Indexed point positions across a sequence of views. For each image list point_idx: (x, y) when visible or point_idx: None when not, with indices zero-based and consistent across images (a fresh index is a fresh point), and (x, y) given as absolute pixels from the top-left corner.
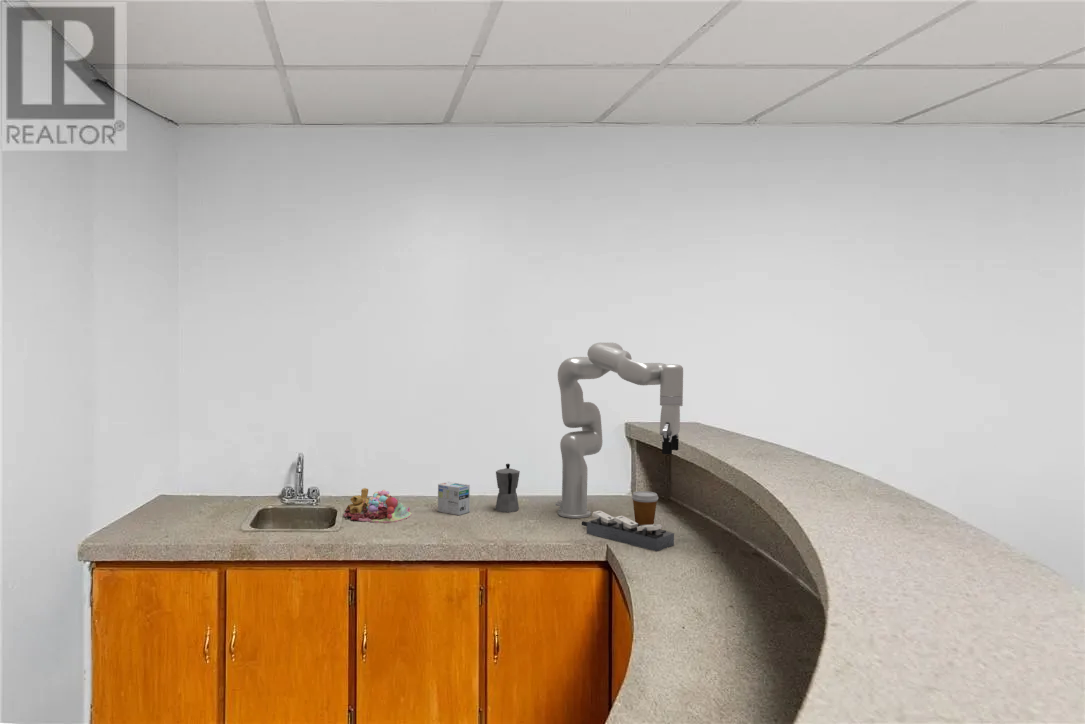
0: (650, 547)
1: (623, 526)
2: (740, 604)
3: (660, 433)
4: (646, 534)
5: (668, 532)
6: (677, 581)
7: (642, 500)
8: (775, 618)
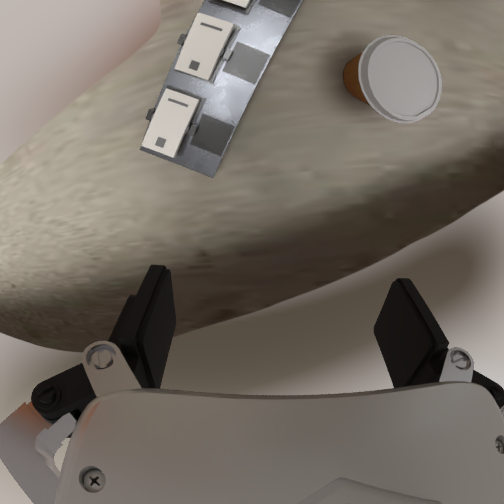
0: None
1: None
2: (22, 294)
3: (88, 405)
4: None
5: (214, 163)
6: (30, 220)
7: (358, 70)
8: (20, 319)
